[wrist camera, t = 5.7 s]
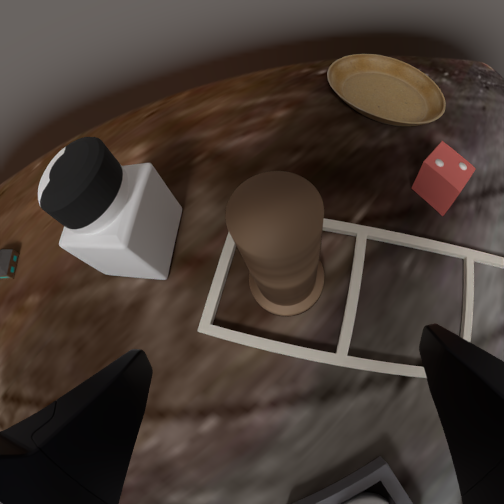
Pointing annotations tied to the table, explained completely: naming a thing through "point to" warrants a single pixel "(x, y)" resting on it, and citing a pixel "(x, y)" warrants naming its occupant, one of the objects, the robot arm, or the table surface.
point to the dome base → (360, 485)
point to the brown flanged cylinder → (279, 239)
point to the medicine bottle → (111, 211)
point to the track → (349, 298)
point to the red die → (442, 177)
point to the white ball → (366, 499)
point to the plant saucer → (386, 90)
